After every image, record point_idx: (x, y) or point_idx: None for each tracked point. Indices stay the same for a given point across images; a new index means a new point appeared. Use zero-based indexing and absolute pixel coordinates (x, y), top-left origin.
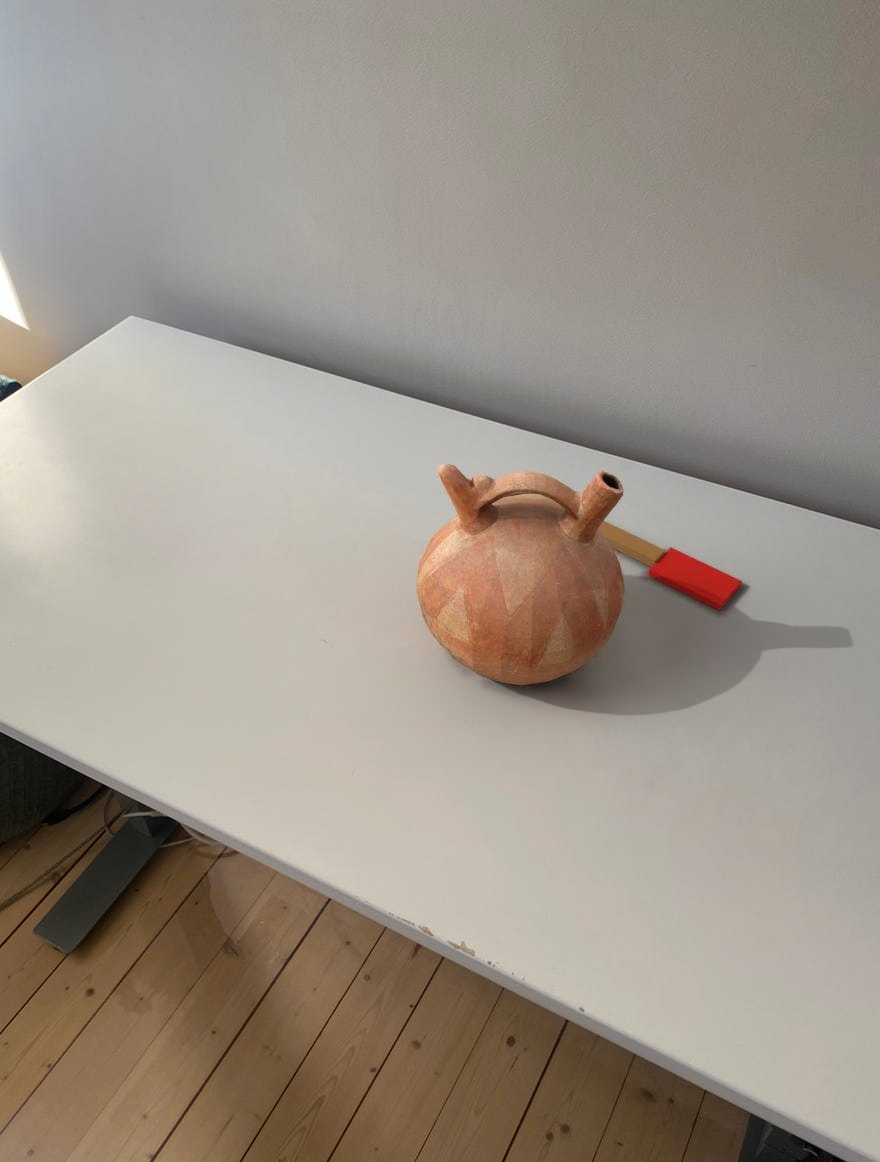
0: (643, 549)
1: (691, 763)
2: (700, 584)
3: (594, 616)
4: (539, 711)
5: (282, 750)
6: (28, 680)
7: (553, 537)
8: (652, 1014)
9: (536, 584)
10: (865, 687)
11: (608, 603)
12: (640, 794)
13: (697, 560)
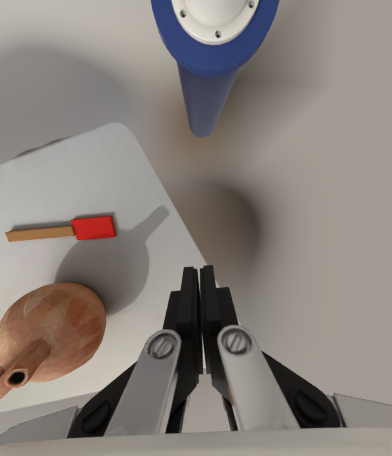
0: (64, 233)
1: (161, 303)
2: (99, 232)
3: (90, 343)
4: (111, 319)
5: (75, 373)
6: (8, 400)
7: (39, 368)
8: (203, 363)
9: (61, 373)
10: (186, 231)
11: (88, 335)
12: (158, 321)
13: (86, 219)
